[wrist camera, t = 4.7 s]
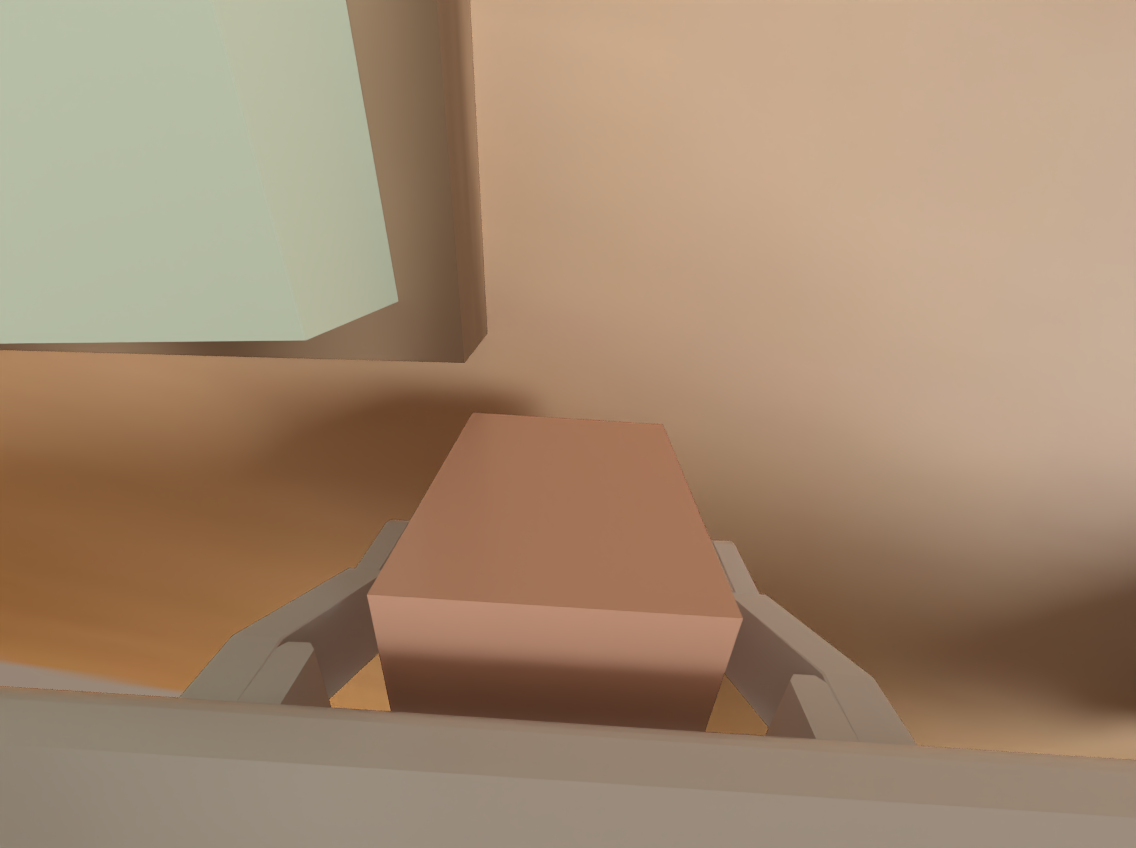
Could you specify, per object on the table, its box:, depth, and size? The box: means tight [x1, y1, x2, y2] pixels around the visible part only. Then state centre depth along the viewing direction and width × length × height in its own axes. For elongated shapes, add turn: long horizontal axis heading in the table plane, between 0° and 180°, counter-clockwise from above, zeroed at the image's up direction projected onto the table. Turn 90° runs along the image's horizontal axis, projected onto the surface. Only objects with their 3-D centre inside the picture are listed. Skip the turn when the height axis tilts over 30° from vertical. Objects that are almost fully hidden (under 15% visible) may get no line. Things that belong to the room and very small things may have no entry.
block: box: [367, 413, 743, 732], centre depth 9 cm, size 5×5×6 cm
